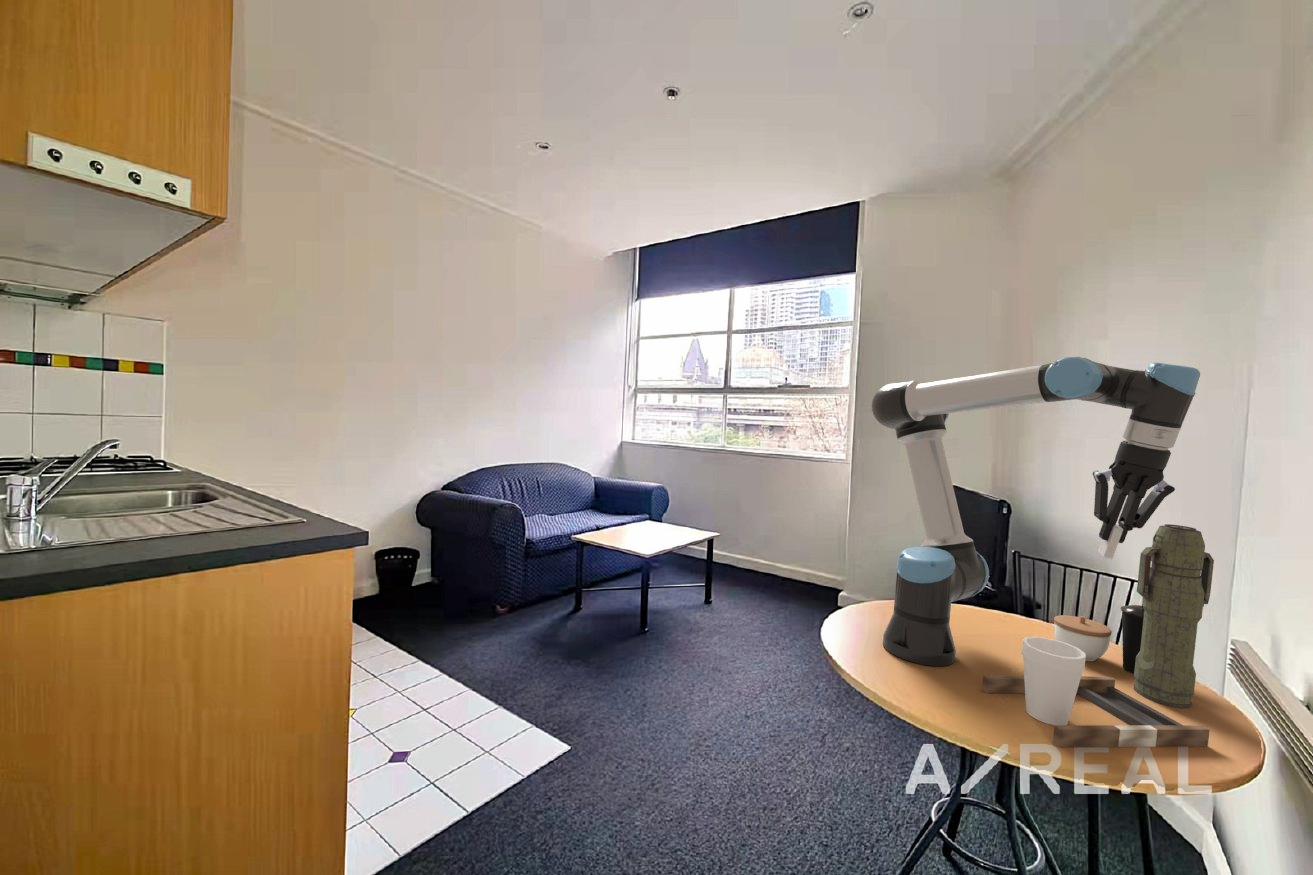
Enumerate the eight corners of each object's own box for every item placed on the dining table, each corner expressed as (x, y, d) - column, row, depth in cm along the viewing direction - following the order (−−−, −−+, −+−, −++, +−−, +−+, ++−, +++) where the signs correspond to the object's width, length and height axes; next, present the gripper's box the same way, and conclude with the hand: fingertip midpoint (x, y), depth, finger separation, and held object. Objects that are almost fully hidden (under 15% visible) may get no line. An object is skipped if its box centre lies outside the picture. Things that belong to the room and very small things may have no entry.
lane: (1058, 747, 90) (1060, 729, 90) (981, 689, 109) (983, 675, 108) (1207, 746, 93) (1209, 729, 93) (1108, 691, 111) (1109, 676, 111)
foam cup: (1060, 735, 94) (1068, 662, 93) (1005, 708, 102) (1012, 640, 101) (1089, 724, 98) (1096, 653, 98) (1034, 698, 106) (1040, 633, 106)
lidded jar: (1087, 648, 134) (1091, 610, 133) (1120, 668, 123) (1124, 627, 122) (1041, 643, 135) (1045, 606, 134) (1069, 663, 124) (1073, 623, 123)
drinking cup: (1107, 666, 124) (1116, 579, 123) (1126, 661, 127) (1135, 577, 126) (1148, 682, 117) (1157, 590, 116) (1167, 677, 120) (1177, 588, 119)
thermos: (1114, 682, 115) (1130, 520, 114) (1172, 688, 115) (1190, 524, 113) (1149, 705, 107) (1167, 529, 105) (1212, 710, 106) (1232, 533, 104)
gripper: (1116, 442, 102) (1075, 554, 108) (1199, 456, 99) (1152, 571, 105) (1098, 434, 109) (1061, 540, 115) (1175, 446, 106) (1133, 555, 112)
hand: (1104, 555), depth 110 cm, fingers closed
